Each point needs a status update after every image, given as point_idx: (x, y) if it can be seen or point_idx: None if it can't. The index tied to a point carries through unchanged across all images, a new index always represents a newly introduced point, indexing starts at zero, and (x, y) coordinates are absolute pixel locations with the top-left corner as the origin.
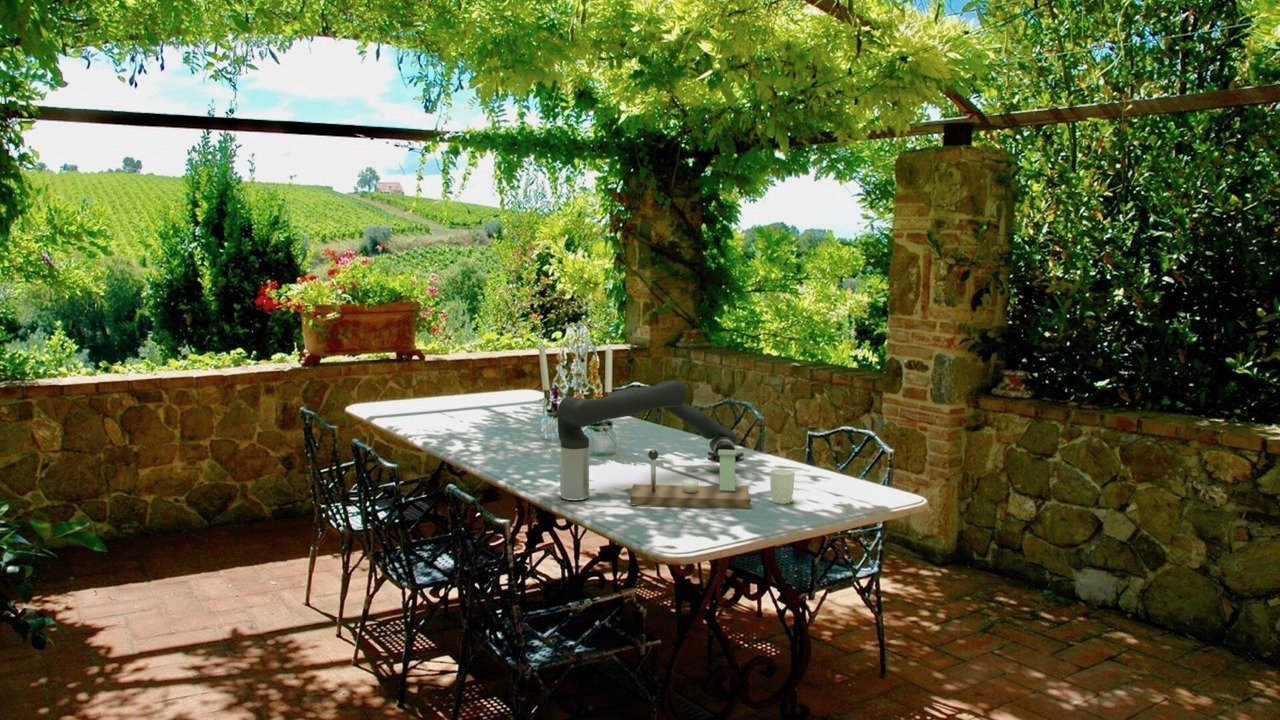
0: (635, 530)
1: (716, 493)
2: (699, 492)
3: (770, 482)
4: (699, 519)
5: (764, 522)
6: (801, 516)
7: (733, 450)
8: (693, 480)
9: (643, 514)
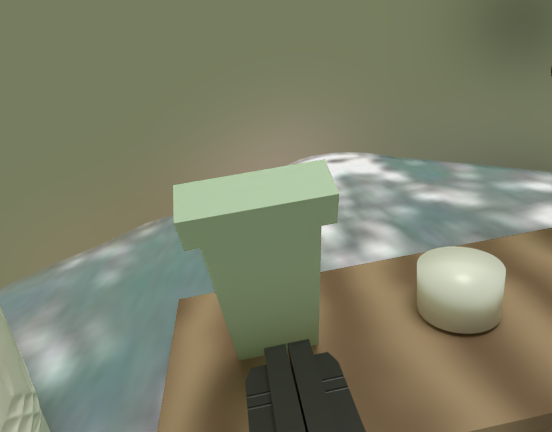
0: (430, 172)
1: (326, 322)
2: (409, 314)
3: (14, 381)
4: (332, 229)
5: (167, 254)
6: (36, 313)
7: (201, 184)
8: (453, 276)
9: (492, 216)
